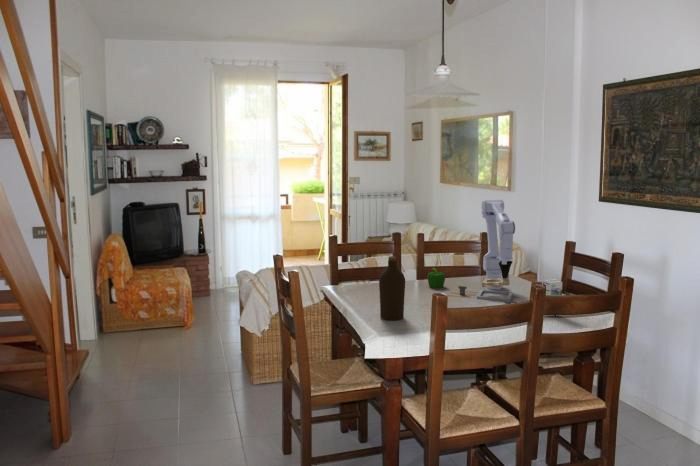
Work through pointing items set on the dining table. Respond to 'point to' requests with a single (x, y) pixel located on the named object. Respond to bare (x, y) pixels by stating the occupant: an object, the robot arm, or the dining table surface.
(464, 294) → the base
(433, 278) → the bell pepper
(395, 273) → the olive oil
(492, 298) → the slate tray
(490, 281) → the tan frame with tab
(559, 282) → the syrup box
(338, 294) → the dining table surface
